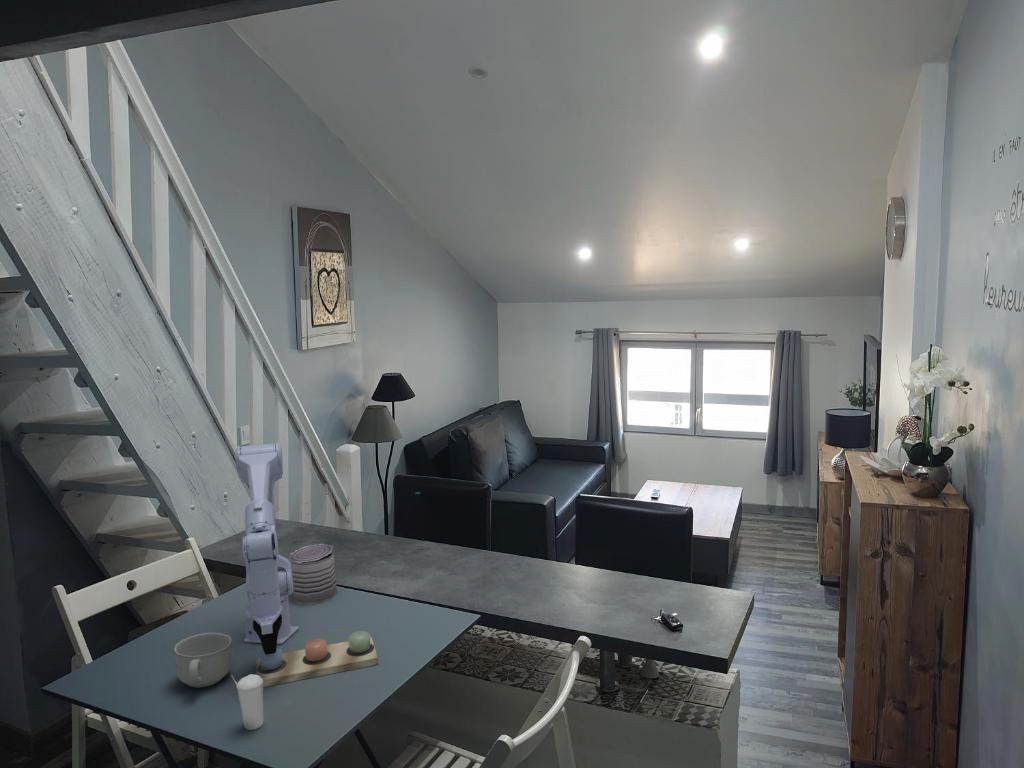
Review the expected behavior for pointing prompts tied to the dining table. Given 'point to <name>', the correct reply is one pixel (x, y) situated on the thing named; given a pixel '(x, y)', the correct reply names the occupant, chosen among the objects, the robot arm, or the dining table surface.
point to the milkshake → (251, 700)
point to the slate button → (271, 660)
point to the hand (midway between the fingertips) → (270, 652)
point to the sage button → (359, 641)
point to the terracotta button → (316, 650)
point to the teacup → (203, 659)
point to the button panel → (317, 664)
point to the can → (313, 574)
